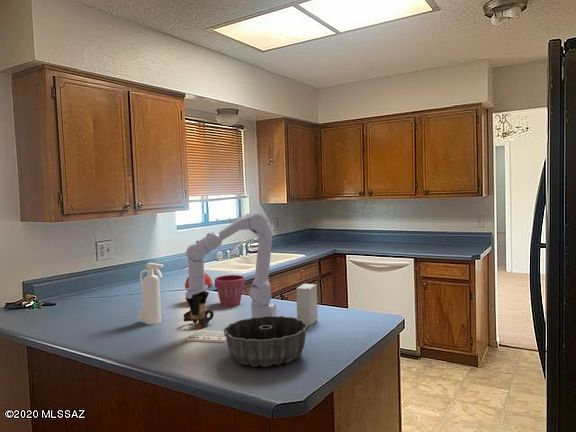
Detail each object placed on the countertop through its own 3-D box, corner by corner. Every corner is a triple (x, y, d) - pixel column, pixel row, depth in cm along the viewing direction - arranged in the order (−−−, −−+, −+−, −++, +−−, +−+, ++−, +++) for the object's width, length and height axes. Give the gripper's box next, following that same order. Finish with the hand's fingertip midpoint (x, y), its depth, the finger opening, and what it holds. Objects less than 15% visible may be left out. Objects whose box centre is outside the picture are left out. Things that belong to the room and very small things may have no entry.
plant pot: (237, 308, 204) (236, 280, 204) (210, 307, 209) (208, 280, 208) (250, 301, 218) (249, 275, 217) (224, 300, 222) (223, 274, 222)
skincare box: (304, 319, 183) (303, 283, 182) (318, 320, 180) (317, 283, 179) (296, 325, 175) (295, 287, 174) (311, 326, 172) (309, 288, 172)
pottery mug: (189, 332, 172) (181, 313, 174) (188, 337, 180) (180, 318, 183) (218, 320, 177) (210, 301, 179) (216, 325, 185) (208, 306, 187)
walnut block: (205, 316, 167) (204, 303, 167) (200, 319, 163) (200, 305, 163) (195, 316, 168) (194, 302, 168) (190, 319, 164) (189, 305, 164)
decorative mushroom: (180, 305, 215) (178, 274, 215) (194, 298, 228) (193, 269, 227) (204, 306, 211) (203, 274, 210) (218, 299, 224) (216, 269, 223)
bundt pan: (207, 359, 141) (206, 328, 141) (269, 338, 160) (268, 311, 159) (263, 382, 122) (261, 346, 122) (326, 355, 141) (325, 324, 140)
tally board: (234, 333, 167) (234, 331, 167) (224, 342, 157) (224, 340, 157) (197, 332, 170) (197, 329, 170) (185, 340, 161) (185, 338, 161)
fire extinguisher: (143, 318, 192) (141, 261, 190) (168, 320, 189) (166, 262, 187) (133, 323, 186) (131, 263, 184) (159, 326, 182) (156, 265, 180)
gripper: (195, 273, 173) (197, 308, 173) (177, 280, 159) (178, 318, 159) (212, 273, 171) (213, 308, 172) (195, 280, 157) (197, 319, 158)
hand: (198, 313), depth 165 cm, fingers closed on walnut block, 4 cm apart
